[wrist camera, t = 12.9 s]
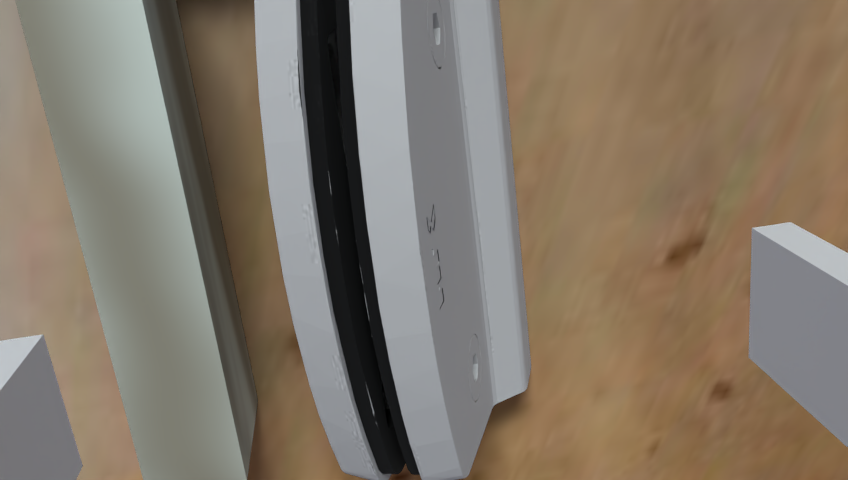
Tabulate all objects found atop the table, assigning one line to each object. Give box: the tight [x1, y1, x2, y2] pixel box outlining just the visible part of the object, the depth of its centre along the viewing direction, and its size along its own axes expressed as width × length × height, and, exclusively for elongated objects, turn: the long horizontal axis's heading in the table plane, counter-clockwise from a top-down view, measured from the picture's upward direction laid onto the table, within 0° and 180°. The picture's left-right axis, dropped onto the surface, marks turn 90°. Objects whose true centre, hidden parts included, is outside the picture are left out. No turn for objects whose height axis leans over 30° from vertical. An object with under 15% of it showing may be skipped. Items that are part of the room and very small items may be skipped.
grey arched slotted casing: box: [254, 0, 531, 480], centre depth 24 cm, size 17×5×10 cm, turn 7°
